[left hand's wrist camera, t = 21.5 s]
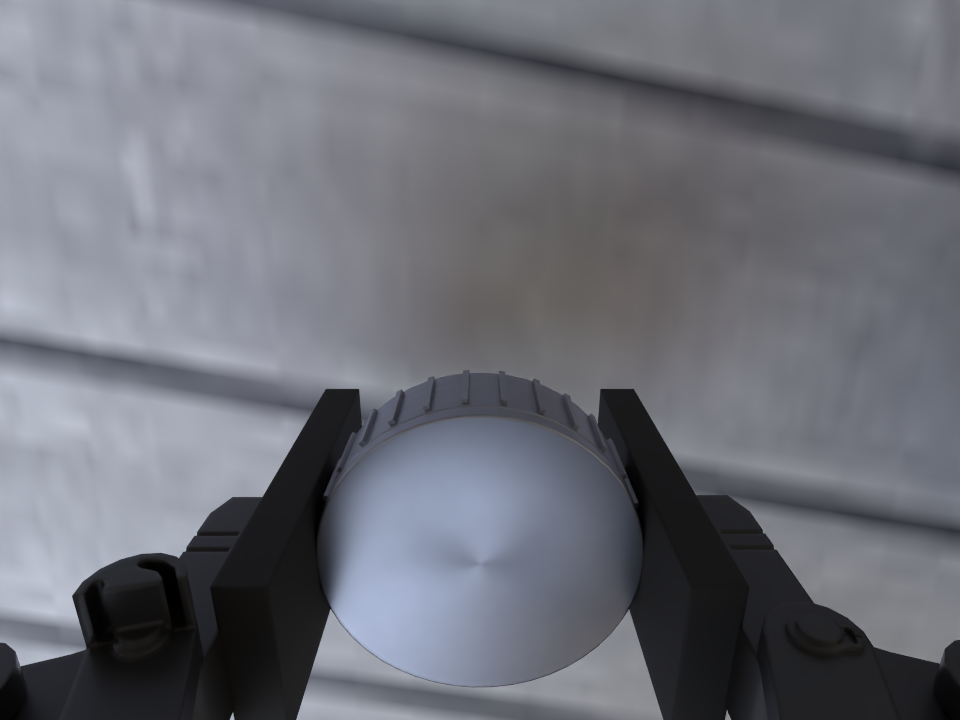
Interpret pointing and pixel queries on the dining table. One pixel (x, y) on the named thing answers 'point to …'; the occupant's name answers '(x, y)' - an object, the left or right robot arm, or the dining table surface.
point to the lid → (479, 532)
